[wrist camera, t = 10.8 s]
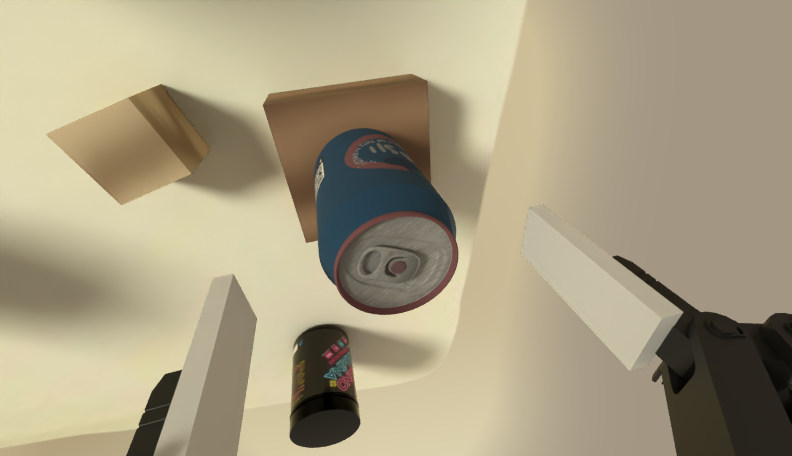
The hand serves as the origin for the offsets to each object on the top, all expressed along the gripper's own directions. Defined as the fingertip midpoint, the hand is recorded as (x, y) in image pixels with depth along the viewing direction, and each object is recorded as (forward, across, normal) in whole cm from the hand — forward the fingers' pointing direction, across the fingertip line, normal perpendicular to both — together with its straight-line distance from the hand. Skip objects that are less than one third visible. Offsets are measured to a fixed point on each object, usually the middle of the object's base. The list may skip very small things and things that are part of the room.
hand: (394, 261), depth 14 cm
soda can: (+12, 0, 0) cm, 12 cm away
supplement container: (+16, -8, -24) cm, 29 cm away
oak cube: (+16, -14, +3) cm, 21 cm away
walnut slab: (+16, 0, -1) cm, 16 cm away
